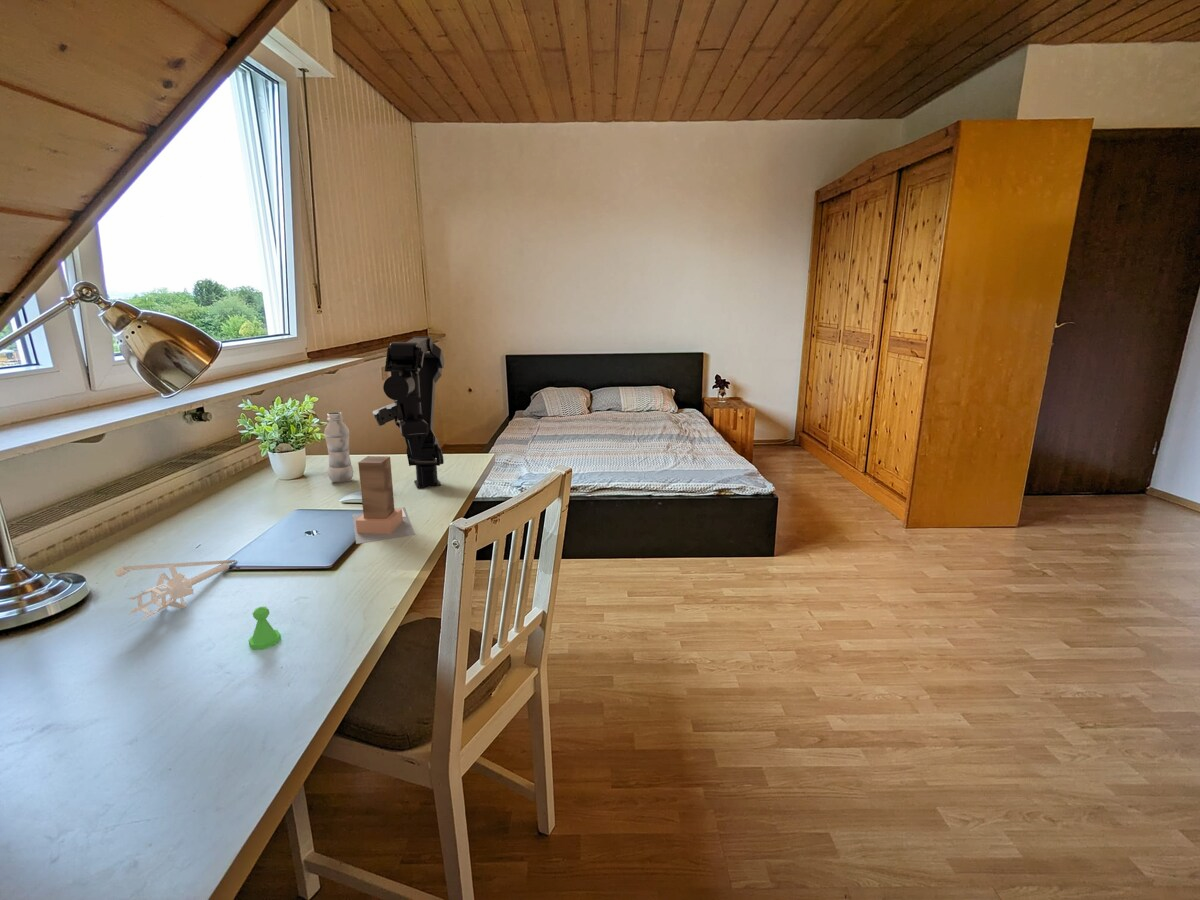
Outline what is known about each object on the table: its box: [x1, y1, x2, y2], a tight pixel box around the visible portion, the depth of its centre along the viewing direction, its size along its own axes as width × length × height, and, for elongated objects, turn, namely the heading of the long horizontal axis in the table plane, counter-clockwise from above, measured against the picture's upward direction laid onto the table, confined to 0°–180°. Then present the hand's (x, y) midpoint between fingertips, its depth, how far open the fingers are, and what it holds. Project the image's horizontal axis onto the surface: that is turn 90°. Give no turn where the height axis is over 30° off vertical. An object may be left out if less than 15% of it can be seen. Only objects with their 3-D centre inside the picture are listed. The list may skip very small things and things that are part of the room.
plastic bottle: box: [323, 411, 354, 483], centre depth 157 cm, size 6×7×20 cm
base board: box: [351, 507, 416, 545], centre depth 128 cm, size 18×12×1 cm, turn 26°
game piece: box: [248, 606, 282, 650], centre depth 85 cm, size 4×4×6 cm
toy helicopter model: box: [114, 559, 237, 621], centre depth 98 cm, size 6×9×25 cm
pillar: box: [358, 455, 396, 519], centre depth 124 cm, size 5×5×13 cm
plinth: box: [356, 508, 403, 534], centre depth 126 cm, size 8×8×3 cm
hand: (412, 453), depth 142 cm, fingers open, 9 cm apart
